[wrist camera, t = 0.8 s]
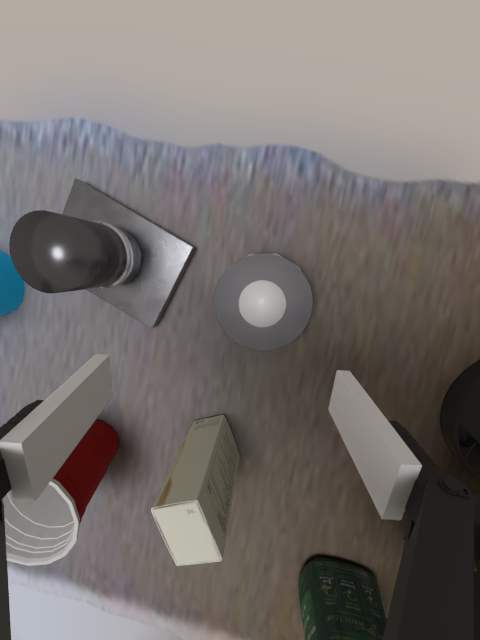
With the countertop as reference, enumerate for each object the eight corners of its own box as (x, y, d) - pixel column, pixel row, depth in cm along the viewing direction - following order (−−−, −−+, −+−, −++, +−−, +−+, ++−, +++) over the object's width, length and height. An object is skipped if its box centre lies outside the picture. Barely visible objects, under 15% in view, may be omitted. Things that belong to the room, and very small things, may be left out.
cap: (325, 283, 28) (333, 286, 24) (278, 354, 30) (278, 368, 26) (248, 238, 28) (244, 234, 24) (207, 312, 31) (197, 320, 26)
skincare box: (192, 420, 34) (146, 505, 22) (225, 412, 33) (196, 497, 21) (209, 465, 35) (174, 570, 23) (241, 458, 34) (222, 564, 22)
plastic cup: (141, 479, 36) (77, 580, 25) (67, 469, 38) (-27, 561, 26) (137, 405, 34) (65, 478, 23) (59, 397, 36) (-48, 462, 24)
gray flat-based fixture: (196, 248, 29) (153, 239, 19) (157, 325, 32) (101, 355, 21) (85, 182, 29) (-17, 139, 19) (54, 264, 32) (-50, 264, 22)
